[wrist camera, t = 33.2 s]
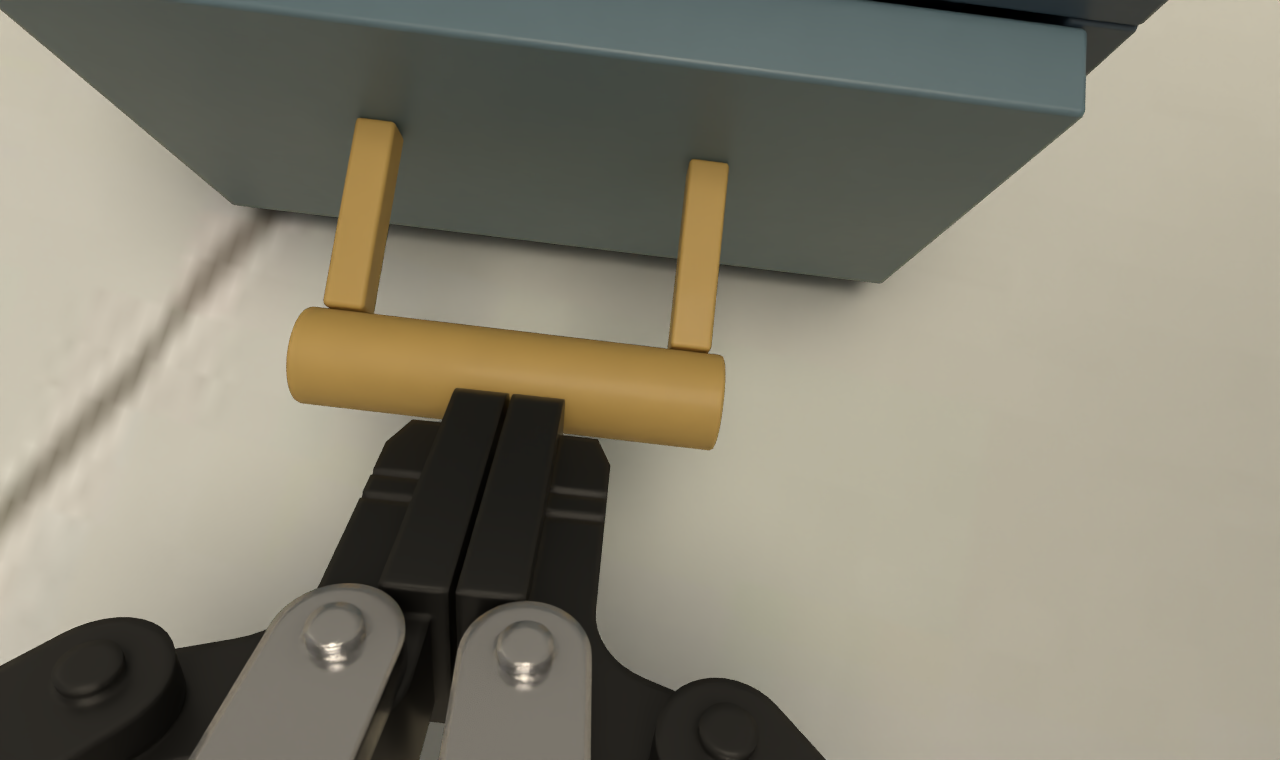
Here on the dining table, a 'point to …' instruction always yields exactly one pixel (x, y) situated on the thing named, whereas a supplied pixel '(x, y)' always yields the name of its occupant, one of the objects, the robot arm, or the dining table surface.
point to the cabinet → (1076, 18)
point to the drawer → (578, 157)
